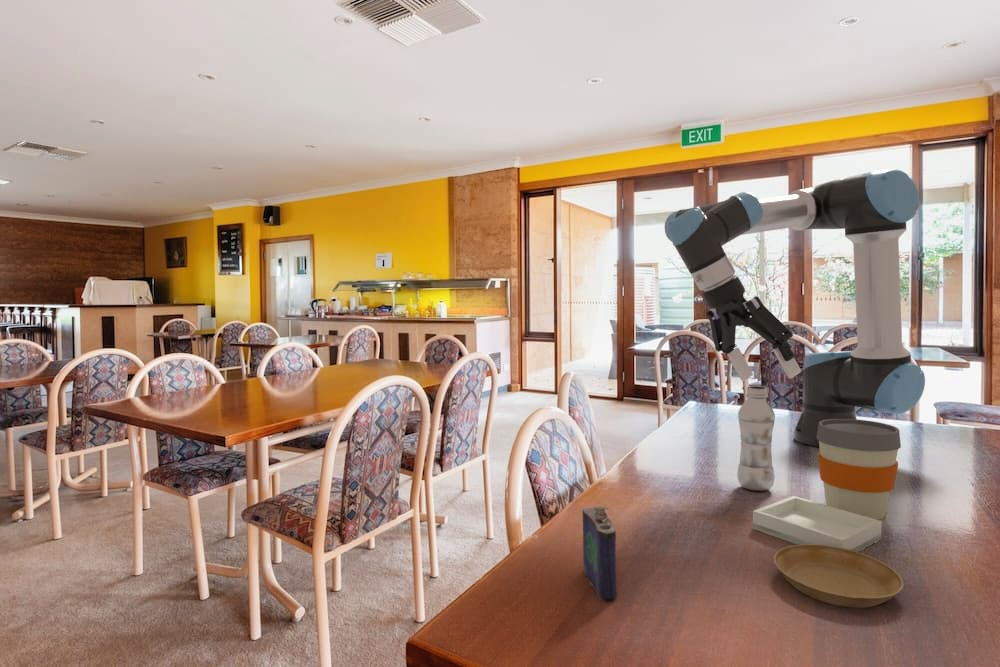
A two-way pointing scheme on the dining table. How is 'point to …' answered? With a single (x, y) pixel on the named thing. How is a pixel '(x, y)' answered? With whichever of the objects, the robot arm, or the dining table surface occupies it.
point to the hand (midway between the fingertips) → (770, 376)
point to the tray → (816, 524)
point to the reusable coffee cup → (858, 464)
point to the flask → (599, 552)
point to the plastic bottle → (756, 440)
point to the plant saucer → (838, 575)
